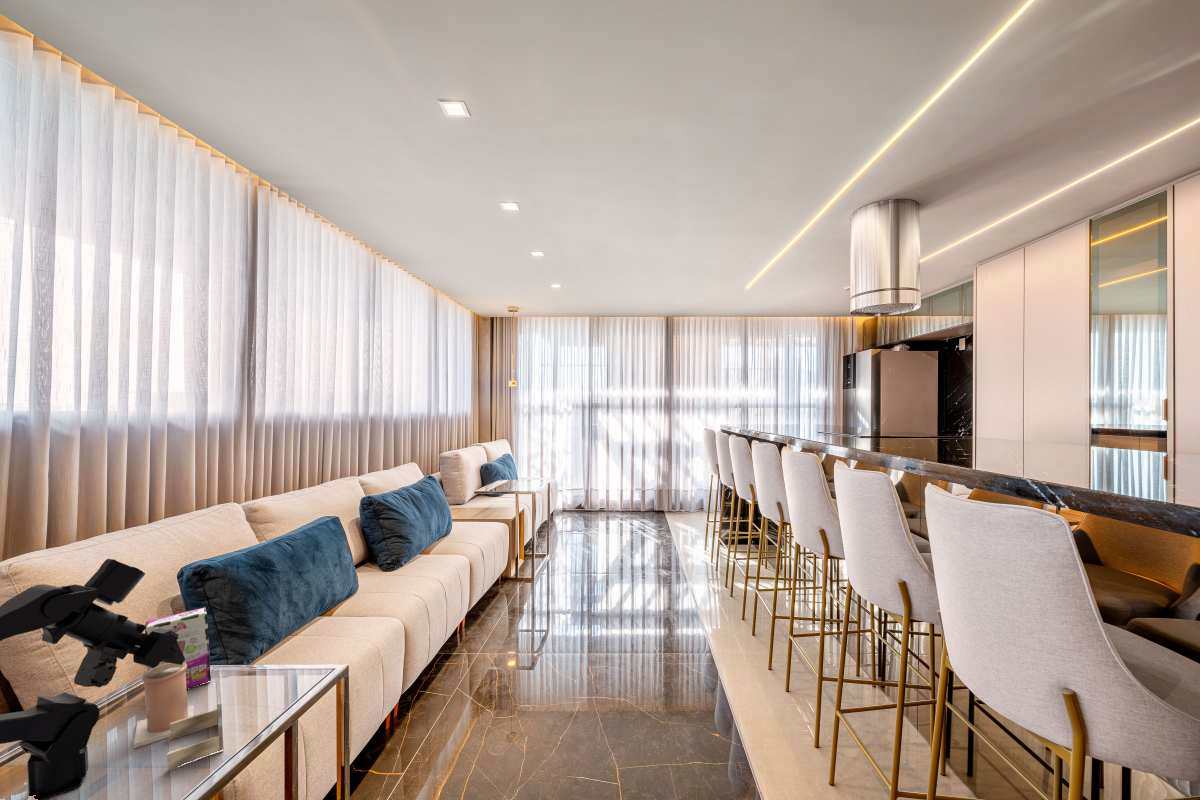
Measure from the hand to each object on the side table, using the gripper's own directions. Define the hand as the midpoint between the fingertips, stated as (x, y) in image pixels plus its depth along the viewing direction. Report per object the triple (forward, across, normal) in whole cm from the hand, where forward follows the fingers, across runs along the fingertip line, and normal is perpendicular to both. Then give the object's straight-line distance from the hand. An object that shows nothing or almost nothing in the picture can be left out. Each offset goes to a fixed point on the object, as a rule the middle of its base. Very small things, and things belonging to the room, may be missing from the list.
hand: (168, 658), depth 107 cm
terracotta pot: (+9, 0, -9) cm, 13 cm away
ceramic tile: (+9, 0, -10) cm, 14 cm away
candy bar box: (+17, -14, -3) cm, 22 cm away
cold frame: (+7, +11, -12) cm, 18 cm away
